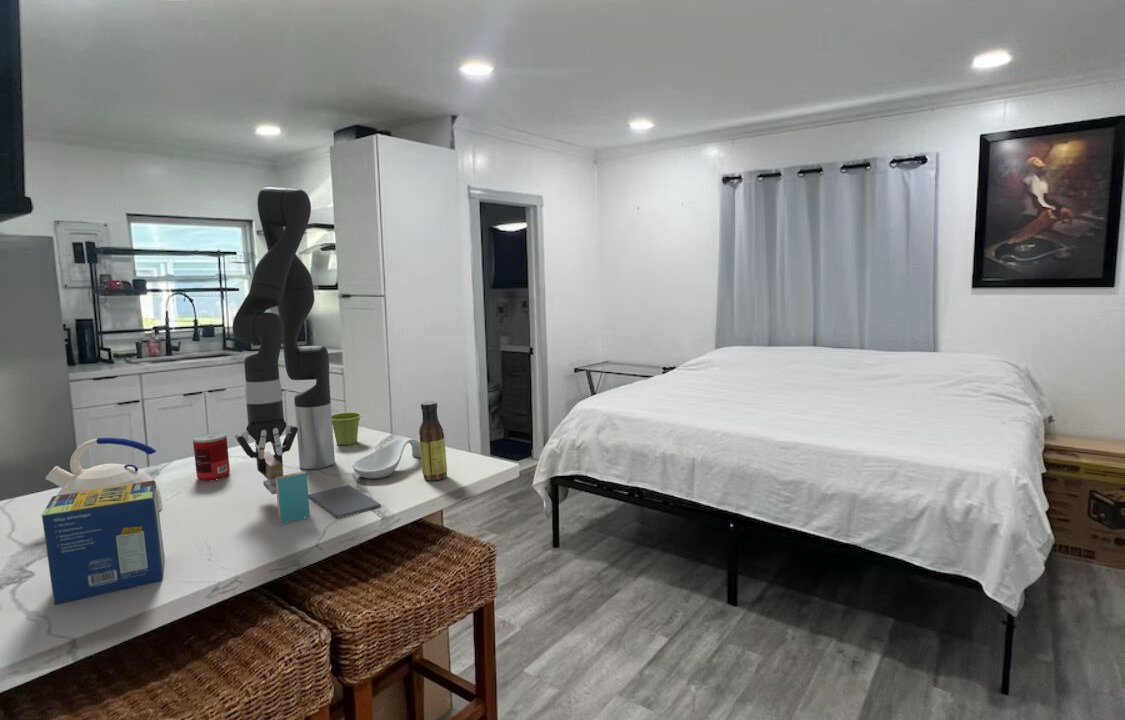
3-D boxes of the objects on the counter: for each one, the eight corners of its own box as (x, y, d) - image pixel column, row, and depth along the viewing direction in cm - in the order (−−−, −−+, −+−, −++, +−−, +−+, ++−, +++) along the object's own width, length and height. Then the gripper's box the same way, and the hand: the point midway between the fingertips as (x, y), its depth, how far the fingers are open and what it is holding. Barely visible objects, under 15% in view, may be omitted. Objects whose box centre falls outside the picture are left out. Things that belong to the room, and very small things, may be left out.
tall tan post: (250, 470, 149) (249, 454, 148) (276, 465, 153) (276, 449, 152) (272, 494, 137) (271, 477, 136) (300, 488, 141) (299, 471, 140)
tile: (279, 522, 135) (275, 477, 134) (307, 514, 139) (304, 471, 137) (281, 524, 134) (277, 479, 132) (310, 516, 138) (306, 472, 136)
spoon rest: (379, 486, 157) (377, 458, 156) (343, 480, 162) (341, 453, 161) (436, 459, 179) (435, 435, 178) (403, 455, 184) (401, 431, 183)
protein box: (63, 579, 111) (51, 495, 109) (165, 558, 119) (156, 479, 117) (52, 606, 102) (39, 515, 100) (163, 581, 110) (154, 496, 108)
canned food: (232, 470, 171) (228, 431, 169) (227, 479, 164) (223, 438, 162) (200, 473, 169) (196, 434, 167) (193, 483, 161) (189, 441, 160)
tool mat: (307, 496, 150) (307, 494, 150) (348, 486, 156) (348, 484, 156) (337, 518, 136) (337, 515, 136) (380, 506, 143) (380, 503, 143)
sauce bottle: (450, 474, 165) (446, 400, 162) (443, 482, 159) (439, 405, 156) (425, 473, 165) (422, 400, 163) (418, 481, 159) (414, 405, 156)
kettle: (70, 507, 146) (59, 432, 143) (172, 495, 153) (164, 422, 150) (32, 542, 127) (20, 456, 124) (151, 526, 134) (142, 444, 132)
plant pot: (368, 442, 197) (366, 415, 195) (339, 449, 190) (337, 421, 189) (354, 437, 203) (352, 411, 202) (326, 443, 197) (324, 416, 195)
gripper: (290, 393, 152) (295, 462, 154) (226, 401, 143) (233, 475, 145) (301, 397, 146) (306, 469, 149) (235, 406, 137) (242, 482, 139)
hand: (270, 471), depth 147 cm, fingers closed on tall tan post, 2 cm apart
